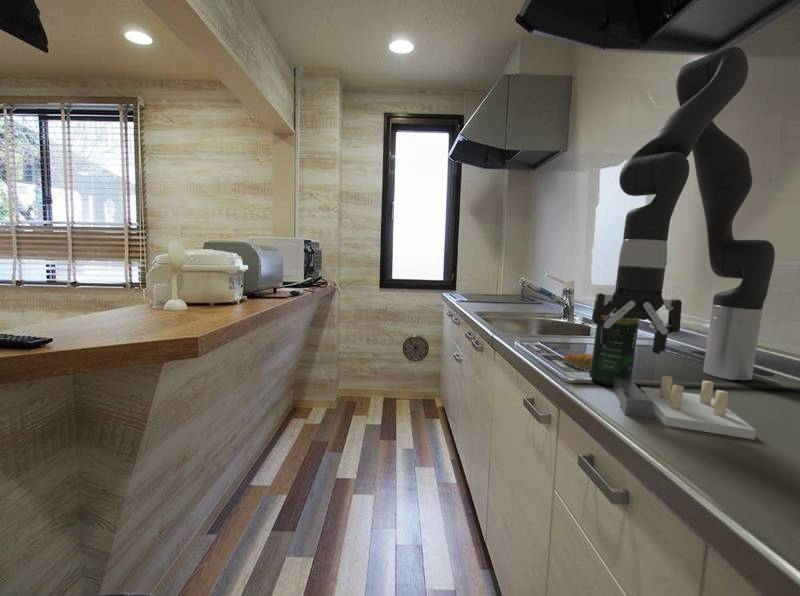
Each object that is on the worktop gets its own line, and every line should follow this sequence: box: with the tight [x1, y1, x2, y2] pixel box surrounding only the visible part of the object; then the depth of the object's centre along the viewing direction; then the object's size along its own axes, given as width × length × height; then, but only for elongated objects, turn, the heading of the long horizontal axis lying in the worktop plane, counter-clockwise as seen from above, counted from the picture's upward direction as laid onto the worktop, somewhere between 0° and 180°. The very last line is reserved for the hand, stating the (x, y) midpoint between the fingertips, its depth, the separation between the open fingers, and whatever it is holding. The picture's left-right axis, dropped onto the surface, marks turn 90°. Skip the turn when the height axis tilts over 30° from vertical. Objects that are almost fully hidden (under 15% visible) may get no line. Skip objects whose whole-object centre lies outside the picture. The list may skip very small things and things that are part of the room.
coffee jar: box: [589, 300, 640, 387], centre depth 86 cm, size 10×8×19 cm
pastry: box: [563, 353, 593, 372], centre depth 98 cm, size 9×7×4 cm
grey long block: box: [612, 376, 654, 420], centre depth 74 cm, size 14×4×3 cm, turn 162°
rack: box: [639, 375, 757, 440], centre depth 70 cm, size 16×12×6 cm
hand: (630, 350), depth 74 cm, fingers open, 8 cm apart
